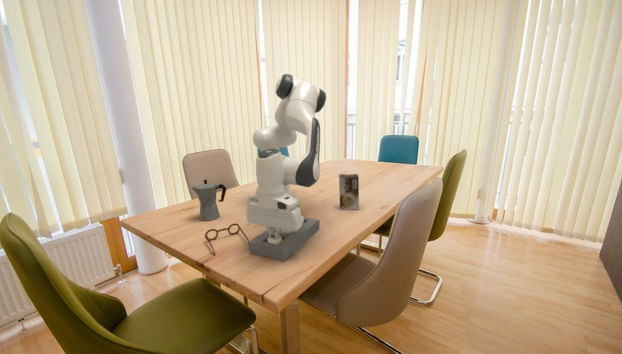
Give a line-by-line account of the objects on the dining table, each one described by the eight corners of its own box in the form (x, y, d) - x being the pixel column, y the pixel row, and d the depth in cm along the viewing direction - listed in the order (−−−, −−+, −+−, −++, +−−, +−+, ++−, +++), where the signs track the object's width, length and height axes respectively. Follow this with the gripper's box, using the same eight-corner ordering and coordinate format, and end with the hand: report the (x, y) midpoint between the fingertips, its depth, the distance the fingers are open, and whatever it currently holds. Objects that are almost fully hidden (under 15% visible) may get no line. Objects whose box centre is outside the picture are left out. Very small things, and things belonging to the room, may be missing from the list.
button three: (278, 236, 98) (277, 227, 97) (285, 231, 102) (284, 222, 101) (289, 238, 96) (288, 229, 95) (296, 233, 100) (295, 224, 99)
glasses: (239, 233, 107) (238, 221, 106) (251, 246, 97) (250, 233, 95) (205, 242, 101) (203, 230, 99) (214, 257, 90) (212, 243, 89)
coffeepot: (191, 222, 119) (185, 183, 115) (199, 214, 128) (194, 177, 124) (226, 220, 120) (222, 181, 115) (231, 213, 129) (227, 176, 125)
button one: (265, 249, 91) (264, 240, 90) (273, 243, 95) (272, 234, 95) (277, 252, 89) (276, 242, 88) (284, 246, 93) (284, 236, 92)
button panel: (249, 252, 91) (248, 241, 90) (289, 223, 114) (288, 215, 113) (284, 261, 85) (284, 249, 84) (319, 229, 108) (319, 219, 107)
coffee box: (357, 205, 133) (358, 173, 129) (358, 210, 127) (359, 176, 123) (339, 205, 134) (339, 173, 130) (339, 210, 128) (339, 177, 124)
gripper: (240, 198, 90) (244, 236, 93) (293, 206, 81) (295, 247, 84) (252, 193, 95) (255, 229, 99) (303, 199, 87) (305, 239, 90)
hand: (274, 238), depth 91 cm, fingers closed, pressing on button one
